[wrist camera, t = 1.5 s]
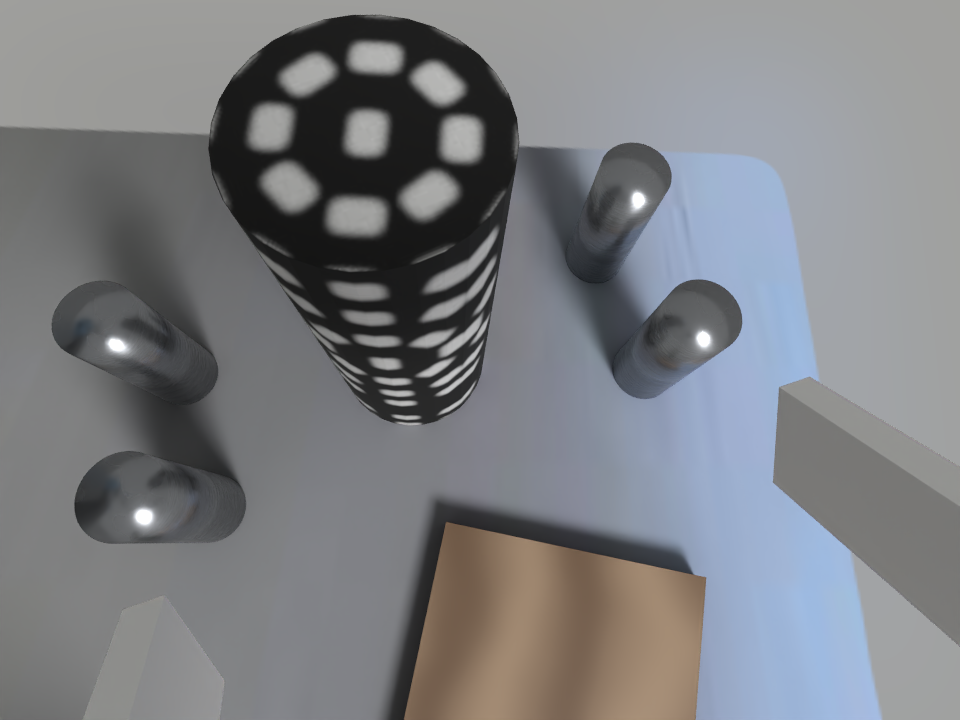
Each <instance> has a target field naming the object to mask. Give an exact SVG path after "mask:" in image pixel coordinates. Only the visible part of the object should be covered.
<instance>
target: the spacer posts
mask: <svg viewBox="0 0 960 720" xmlns="http://www.w3.org/2000/svg"><path fill="white" fill-rule="evenodd" d="M671 177H672V176H671V170H670V167H669V164H668V163H667V161H666V160H665V158H664V157H663V156H662V155H661V154H660V153H659V152H658V151H656V150H655V149H653V148H651V147H649V146H647V145H644V144H639V143H624V144H620V145H618V146H616V147H614V148H612V149H611V150H609V151H608V152H607V153H606V155H605V156H604V158H603V160H602V162H601V165H600V167H599V170H598V172H597V175H596V177H595V180H594V182H593V185H592V187H591V190H590V192H589V195H588V198H587V200H586V203H585V205H584V208H583V210H582V213H581V215H580V218H579V220H578V223H577V225H576V228H575V231H574V233H573V236H572V238H571V241H570V243H569V246H568V248H567V252H566V260H567V264H568V266H569V268H570V270H571V271H572V272H573V274H574V275H576V276H577V277H578V278H580V279H582V280H584V281H586V282H590V283H601V282H605V281H608V280H610V279H611V278H613V277H614V276H615V275H616V273H617V272H618V270H619V269H620V267H621V266H622V264H623V262H624V261H625V259H626V257H627V256H628V254H629V253H630V251H631V249H632V248H633V246H634V244H635V243H636V241H637V240H638V238H639V236H640V235H641V233H642V231H643V230H644V228H645V227H646V225H647V223H648V222H649V220H650V219H651V217H652V215H653V214H654V212H655V210H656V209H657V207H658V206H659V204H660V202H661V201H662V199H663V197H664V196H665V194H666V193H667V191H668V189H669V187H670V184H671ZM741 327H742V314H741V310H740V308H739V305H738V303H737V301H736V300H735V298H734V297H733V296H732V295H731V294H730V293H729V292H728V291H727V290H726V289H725V288H723V287H722V286H720V285H718V284H716V283H714V282H711V281H707V280H690V281H686V282H684V283H682V284H680V285H678V286H677V287H676V288H675V289H674V290H673V291H672V292H671V293H670V294H669V295H668V296H667V297H666V299H665V300H664V301H663V302H662V303H661V304H660V305H659V306H658V308H657V309H656V310H655V311H654V312H653V313H652V314H651V316H650V317H649V318H648V319H647V320H646V321H645V322H644V323H643V325H642V326H641V327H640V328H639V329H638V330H637V331H636V333H635V334H634V335H633V336H632V337H631V338H630V339H629V340H628V342H627V343H626V344H625V345H624V346H623V347H622V348H621V350H620V351H619V352H618V353H617V355H616V357H615V359H614V362H613V373H614V377H615V380H616V382H617V383H618V385H619V386H620V387H621V389H622V390H623V391H625V392H626V393H627V394H629V395H631V396H633V397H636V398H640V399H650V398H654V397H656V396H658V395H660V394H661V393H663V392H664V391H666V390H667V389H669V388H670V387H671V386H673V385H674V384H676V383H677V382H679V381H680V380H681V379H683V378H684V377H686V376H687V375H689V374H690V373H691V372H693V371H694V370H696V369H697V368H699V367H700V366H701V365H703V364H704V363H706V362H707V361H709V360H710V359H711V358H713V357H714V356H716V355H717V354H719V353H720V352H721V351H723V350H724V349H726V348H727V347H728V346H730V345H731V344H732V343H733V342H734V341H735V340H736V339H737V337H738V336H739V333H740V331H741ZM52 333H53V336H54V339H55V341H56V342H57V344H58V345H59V346H60V347H61V348H62V349H63V350H64V351H66V352H67V353H69V354H71V355H73V356H75V357H77V358H80V359H82V360H84V361H86V362H88V363H90V364H92V365H94V366H96V367H98V368H100V369H102V370H104V371H106V372H108V373H110V374H112V375H115V376H117V377H119V378H121V379H123V380H125V381H127V382H129V383H131V384H133V385H135V386H137V387H139V388H141V389H143V390H145V391H147V392H150V393H152V394H154V395H156V396H158V397H160V398H162V399H164V400H166V401H168V402H170V403H173V404H178V405H186V404H192V403H194V402H197V401H199V400H201V399H202V398H204V397H205V396H206V395H207V394H208V393H209V392H210V391H211V390H212V389H213V387H214V385H215V383H216V380H217V376H218V366H217V363H216V360H215V359H214V357H213V356H212V355H211V353H209V352H208V351H207V350H206V349H204V348H203V347H202V346H200V345H199V344H198V343H197V342H195V341H194V340H193V339H191V338H190V337H189V336H187V335H186V334H185V333H184V332H182V331H181V330H180V329H178V328H177V327H176V326H174V325H173V324H172V323H171V322H169V321H168V320H167V319H165V318H164V317H163V316H161V315H160V314H159V313H158V312H156V311H155V310H154V309H152V308H151V307H150V306H148V305H147V304H146V303H145V302H143V301H142V300H141V299H139V298H138V297H137V296H135V295H134V294H133V293H132V292H130V291H129V290H128V289H126V288H125V287H123V286H122V285H120V284H117V283H114V282H110V281H94V282H90V283H86V284H84V285H81V286H79V287H77V288H75V289H74V290H72V291H71V292H70V293H68V294H67V295H66V296H65V297H64V298H63V299H62V300H61V302H60V303H59V305H58V306H57V308H56V310H55V312H54V315H53V319H52ZM245 508H246V500H245V495H244V492H243V490H242V489H241V487H240V486H239V484H238V483H237V482H235V481H234V480H233V479H231V478H229V477H226V476H223V475H219V474H215V473H212V472H208V471H205V470H201V469H198V468H194V467H190V466H187V465H183V464H180V463H176V462H172V461H169V460H165V459H162V458H158V457H155V456H151V455H147V454H144V453H140V452H134V451H126V452H119V453H115V454H112V455H110V456H108V457H106V458H104V459H102V460H101V461H99V462H98V463H96V464H95V465H94V466H93V467H92V468H91V469H90V470H89V471H88V472H87V473H86V475H85V476H84V477H83V479H82V481H81V483H80V485H79V487H78V489H77V492H76V497H75V514H76V518H77V521H78V523H79V525H80V527H81V528H82V529H83V531H84V532H85V533H86V534H87V535H88V536H90V537H91V538H93V539H95V540H97V541H100V542H103V543H109V544H123V543H210V542H216V541H219V540H222V539H224V538H226V537H227V536H229V535H230V534H232V533H233V532H234V531H235V530H236V529H237V527H238V526H239V525H240V523H241V521H242V519H243V517H244V514H245Z"/></svg>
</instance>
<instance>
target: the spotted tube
mask: <svg viewBox="0 0 960 720" xmlns="http://www.w3.org/2000/svg"><path fill="white" fill-rule="evenodd" d="M518 148H519V135H518V124H517V117H516V114H515V111H514V108H513V105H512V102H511V99H510V96H509V94H508V92H507V90H506V89H505V87H504V86H503V84H502V82H501V80H500V79H499V77H498V76H497V74H496V73H495V71H494V70H493V69H492V68H491V67H490V66H489V65H488V64H487V63H486V62H485V61H484V59H483V58H482V57H481V56H480V55H479V54H478V53H476V52H475V51H474V50H472V49H471V48H469V47H468V46H467V45H465V44H464V43H463V42H461V41H460V40H459V39H457V38H455V37H453V36H451V35H449V34H447V33H445V32H443V31H441V30H439V29H437V28H435V27H432V26H429V25H426V24H423V23H419V22H416V21H413V20H410V19H405V18H398V17H391V16H384V15H350V16H343V17H337V18H331V19H324V20H321V21H318V22H315V23H312V24H309V25H306V26H303V27H300V28H297V29H295V30H293V31H291V32H289V33H287V34H285V35H283V36H281V37H279V38H277V39H275V40H273V41H272V42H270V43H269V44H268V45H266V46H265V47H264V48H262V49H261V50H260V51H258V52H257V53H256V54H254V55H253V56H252V57H251V58H250V59H249V60H248V61H247V62H246V63H245V64H244V65H243V66H242V67H241V68H240V69H239V71H238V72H237V73H236V74H235V75H234V76H233V78H232V79H231V81H230V82H229V84H228V86H227V87H226V89H225V90H224V92H223V94H222V95H221V97H220V99H219V101H218V104H217V107H216V110H215V113H214V116H213V119H212V122H211V129H210V139H209V156H210V162H211V169H212V175H213V178H214V180H215V182H216V185H217V187H218V190H219V192H220V195H221V197H222V200H223V201H224V203H225V204H226V205H227V207H228V208H229V210H230V211H231V213H232V214H233V216H234V217H235V219H236V220H237V222H238V223H239V225H240V226H241V228H242V229H243V231H244V232H245V234H246V235H247V236H248V238H249V239H250V241H251V242H252V244H253V245H254V247H255V248H256V250H257V251H258V253H259V254H260V256H261V257H262V259H263V260H264V262H265V263H266V265H267V266H268V267H269V269H270V270H271V272H272V273H273V275H274V276H275V278H276V279H277V281H278V282H279V284H280V285H281V287H282V288H283V290H284V291H285V293H286V294H287V296H288V297H289V299H290V300H291V301H292V303H293V304H294V306H295V307H296V309H297V310H298V312H299V313H300V315H301V316H302V318H303V319H304V321H305V322H306V324H307V325H308V327H309V328H310V330H311V331H312V332H313V334H314V335H315V337H316V338H317V340H318V341H319V343H320V344H321V346H322V347H323V349H324V350H325V352H326V353H327V355H328V356H329V358H330V359H331V361H332V362H333V364H334V365H335V366H336V368H337V369H338V371H339V372H340V374H341V375H342V377H343V378H344V380H345V381H346V383H347V384H348V386H349V387H350V389H351V390H352V392H353V393H354V394H355V396H356V397H357V399H358V400H359V401H360V403H361V404H363V405H364V406H365V407H366V408H367V409H368V410H369V411H370V412H372V413H373V414H375V415H377V416H378V417H380V418H382V419H384V420H387V421H390V422H393V423H397V424H404V425H423V424H427V423H431V422H435V421H438V420H440V419H442V418H444V417H447V416H449V415H450V414H452V413H453V412H454V411H456V410H457V409H459V408H460V407H461V406H462V405H463V404H464V403H465V402H466V401H467V399H468V398H469V397H470V396H471V394H472V392H473V391H474V389H475V387H476V386H477V383H478V380H479V378H480V375H481V370H482V364H483V358H484V352H485V347H486V341H487V335H488V329H489V323H490V317H491V311H492V305H493V299H494V293H495V287H496V281H497V276H498V270H499V264H500V258H501V252H502V246H503V240H504V234H505V228H506V222H507V216H508V211H509V205H510V199H511V193H512V187H513V181H514V175H515V169H516V162H517V155H518Z"/></svg>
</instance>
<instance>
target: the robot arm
mask: <svg viewBox="0 0 960 720" xmlns="http://www.w3.org/2000/svg"><path fill="white" fill-rule="evenodd" d="M773 483H774V484H775V485H776V486H778V487H779V488H780V489H781V490H782V491H783V492H784V493H786V494H787V495H788V496H789V497H790V498H791V499H792V500H794V501H795V502H796V503H797V504H798V505H799V506H800V507H801V508H803V509H804V510H805V511H806V512H807V513H808V514H809V515H811V516H812V517H813V518H814V519H815V520H816V521H817V522H819V523H820V524H821V525H822V526H823V527H824V528H825V529H827V530H828V531H829V532H830V533H831V534H832V535H833V536H835V537H836V538H837V539H838V540H839V541H840V542H841V543H843V544H844V545H845V546H846V547H847V548H848V549H849V550H850V551H852V552H853V553H854V554H855V555H856V556H857V557H859V558H860V559H861V560H862V561H863V562H864V563H865V564H867V565H868V566H869V567H870V568H871V569H872V570H873V571H874V572H876V573H877V574H878V575H879V576H880V577H881V578H882V579H884V580H885V581H886V582H887V583H888V584H889V585H890V586H891V587H893V588H894V589H895V590H896V591H897V592H898V593H900V594H901V595H902V596H903V597H904V598H905V599H906V600H907V601H909V602H910V603H911V604H912V605H913V606H914V607H915V608H917V609H918V610H919V611H920V612H921V613H922V614H923V615H925V616H926V617H927V618H928V619H929V620H930V621H931V622H933V623H934V624H935V625H936V626H937V627H938V628H939V629H941V630H942V631H943V632H944V633H945V634H946V635H948V636H949V637H950V638H951V639H952V640H953V641H954V642H955V643H956V644H958V645H959V646H960V467H959V466H958V465H956V464H955V463H953V462H951V461H950V460H948V459H946V458H944V457H943V456H941V455H940V454H938V453H936V452H935V451H933V450H931V449H929V448H928V447H926V446H924V445H923V444H921V443H919V442H918V441H916V440H914V439H913V438H911V437H909V436H908V435H906V434H904V433H903V432H901V431H899V430H898V429H896V428H894V427H893V426H891V425H889V424H888V423H886V422H884V421H883V420H881V419H879V418H878V417H876V416H874V415H873V414H871V413H869V412H868V411H866V410H864V409H863V408H861V407H859V406H858V405H856V404H854V403H853V402H851V401H849V400H848V399H846V398H844V397H843V396H841V395H839V394H838V393H836V392H834V391H833V390H831V389H829V388H828V387H826V386H824V385H823V384H821V383H819V382H818V381H816V380H814V379H813V378H811V377H808V378H805V379H802V380H799V381H796V382H793V383H790V384H787V385H784V386H781V387H779V397H778V413H777V429H776V444H775V460H774V476H773ZM224 685H225V681H224V679H223V678H222V676H221V675H220V673H219V672H218V670H217V669H216V668H215V666H214V665H213V663H212V662H211V660H210V659H209V658H208V656H207V655H206V653H205V652H204V650H203V649H202V647H201V646H200V645H199V643H198V642H197V640H196V639H195V637H194V636H193V635H192V633H191V632H190V630H189V629H188V627H187V626H186V625H185V623H184V622H183V620H182V619H181V617H180V616H179V614H178V613H177V612H176V610H175V609H174V607H173V606H172V604H171V603H170V602H169V600H168V599H167V597H166V596H165V595H163V596H160V597H157V598H154V599H151V600H148V601H145V602H142V603H140V604H137V605H134V606H131V607H128V608H125V609H123V610H122V613H121V616H120V618H119V621H118V624H117V627H116V629H115V632H114V635H113V638H112V640H111V643H110V646H109V649H108V651H107V654H106V657H105V660H104V662H103V665H102V668H101V671H100V673H99V676H98V679H97V682H96V684H95V687H94V690H93V693H92V695H91V698H90V701H89V704H88V706H87V709H86V712H85V715H84V717H83V720H219V719H220V712H221V705H222V698H223V692H224Z"/></svg>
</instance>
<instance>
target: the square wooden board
mask: <svg viewBox="0 0 960 720" xmlns="http://www.w3.org/2000/svg"><path fill="white" fill-rule="evenodd" d="M705 587H706V577H701V576H697V575H692V574H687V573H683V572H678V571H673V570H669V569H664V568H659V567H655V566H650V565H645V564H641V563H636V562H631V561H626V560H622V559H617V558H612V557H608V556H603V555H598V554H594V553H589V552H584V551H580V550H575V549H570V548H566V547H561V546H556V545H552V544H547V543H542V542H537V541H533V540H528V539H523V538H519V537H514V536H509V535H505V534H500V533H495V532H491V531H486V530H481V529H477V528H472V527H467V526H463V525H458V524H453V523H449V522H446V525H445V530H444V534H443V539H442V544H441V548H440V553H439V558H438V562H437V567H436V572H435V576H434V581H433V586H432V590H431V595H430V600H429V605H428V609H427V614H426V619H425V623H424V628H423V633H422V637H421V642H420V647H419V651H418V656H417V661H416V665H415V670H414V675H413V679H412V684H411V689H410V693H409V698H408V703H407V707H406V712H405V717H404V720H695V719H696V706H697V692H698V679H699V666H700V653H701V640H702V626H703V613H704V600H705Z"/></svg>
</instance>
